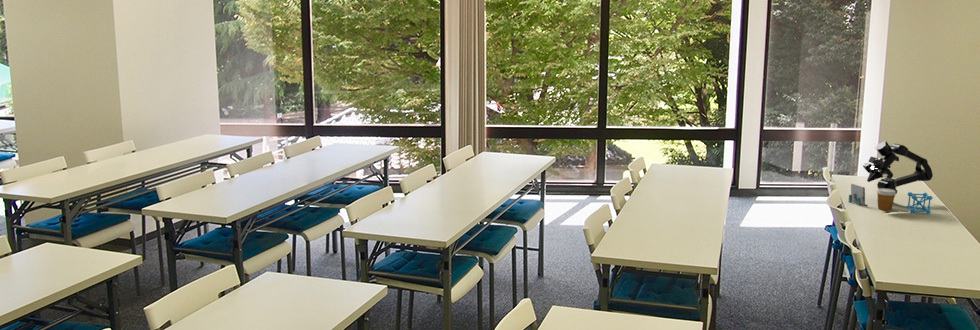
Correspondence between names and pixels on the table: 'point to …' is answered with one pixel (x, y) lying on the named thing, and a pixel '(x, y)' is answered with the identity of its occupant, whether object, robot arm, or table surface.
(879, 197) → the disposable coffee cup
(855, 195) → the grey square plate
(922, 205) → the molecular structure
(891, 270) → the table surface
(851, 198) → the tablet stand
